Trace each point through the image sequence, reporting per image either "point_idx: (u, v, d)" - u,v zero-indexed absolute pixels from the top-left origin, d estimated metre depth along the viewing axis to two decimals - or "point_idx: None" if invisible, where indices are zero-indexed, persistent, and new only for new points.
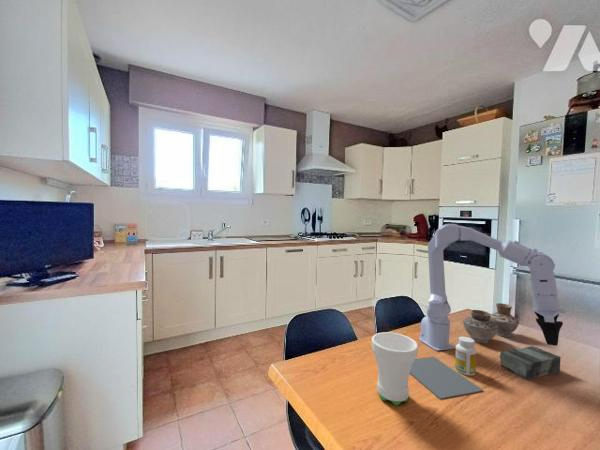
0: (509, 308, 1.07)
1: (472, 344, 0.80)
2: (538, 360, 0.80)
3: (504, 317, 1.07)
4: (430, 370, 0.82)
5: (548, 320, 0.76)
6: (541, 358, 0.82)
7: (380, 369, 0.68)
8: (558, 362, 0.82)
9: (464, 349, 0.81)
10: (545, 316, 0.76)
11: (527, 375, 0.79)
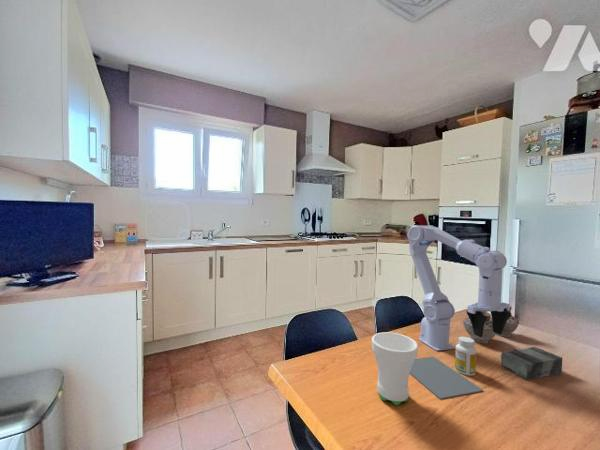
0: None
1: (472, 344, 0.80)
2: (539, 361, 0.80)
3: None
4: (430, 370, 0.82)
5: (469, 310, 0.82)
6: (542, 359, 0.81)
7: (380, 369, 0.68)
8: (560, 363, 0.82)
9: (464, 349, 0.81)
10: (468, 306, 0.83)
11: (528, 376, 0.79)
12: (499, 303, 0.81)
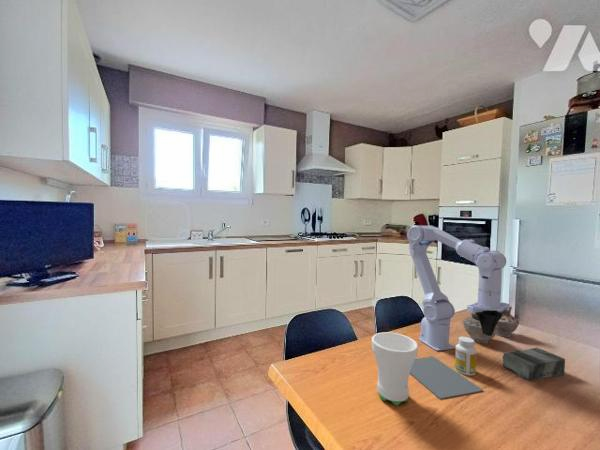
0: None
1: (472, 344, 0.80)
2: (541, 362, 0.80)
3: (504, 318, 1.07)
4: (430, 370, 0.82)
5: (469, 310, 0.82)
6: (545, 360, 0.81)
7: (380, 369, 0.68)
8: (562, 364, 0.81)
9: (464, 349, 0.81)
10: (467, 306, 0.83)
11: (530, 377, 0.78)
12: (499, 303, 0.81)
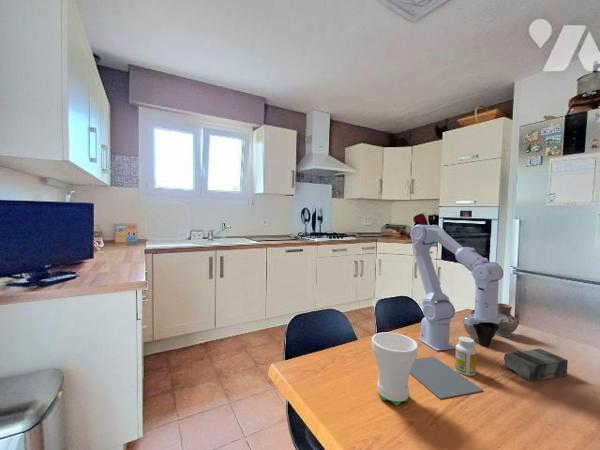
0: (509, 308, 1.07)
1: (472, 344, 0.80)
2: (542, 363, 0.79)
3: None
4: (430, 370, 0.82)
5: (465, 322, 0.82)
6: (546, 360, 0.80)
7: (380, 369, 0.68)
8: (565, 365, 0.81)
9: (464, 349, 0.81)
10: (464, 318, 0.83)
11: (531, 377, 0.78)
12: (495, 315, 0.81)
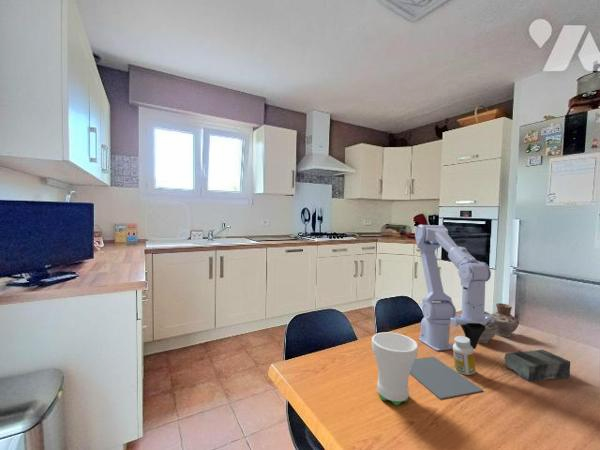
0: (509, 308, 1.07)
1: (468, 344, 0.80)
2: (543, 363, 0.79)
3: (504, 318, 1.07)
4: (430, 370, 0.82)
5: (452, 323, 0.81)
6: (548, 361, 0.80)
7: (380, 369, 0.68)
8: (567, 367, 0.80)
9: (461, 350, 0.80)
10: (451, 319, 0.81)
11: (530, 377, 0.78)
12: (482, 315, 0.80)
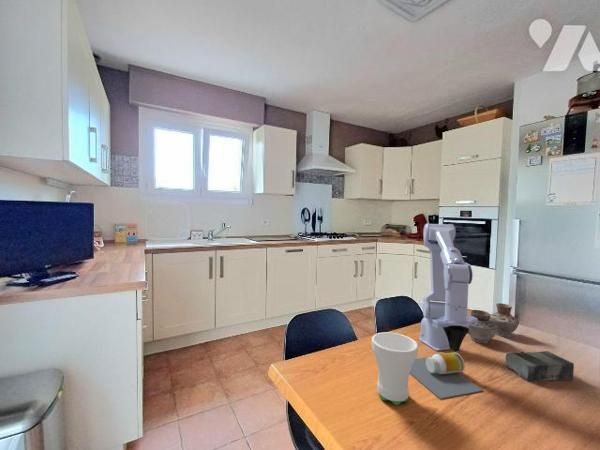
0: (509, 308, 1.07)
1: (436, 367, 0.78)
2: (544, 364, 0.79)
3: (504, 318, 1.07)
4: None
5: (434, 325, 0.79)
6: (549, 362, 0.79)
7: (380, 369, 0.68)
8: (571, 369, 0.79)
9: (439, 372, 0.79)
10: (433, 321, 0.80)
11: (530, 377, 0.78)
12: (465, 318, 0.78)
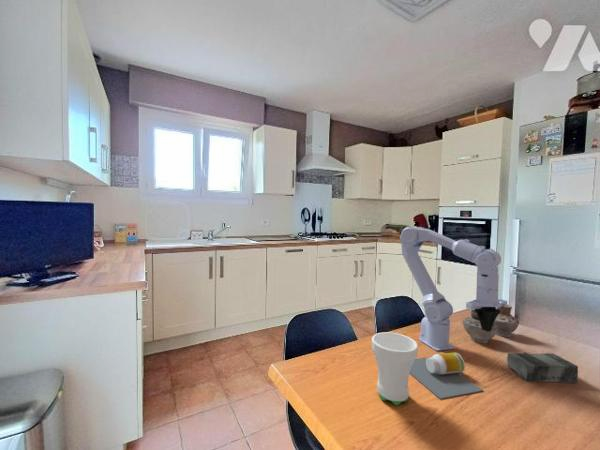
0: (509, 308, 1.07)
1: (436, 367, 0.78)
2: (544, 365, 0.78)
3: (504, 318, 1.07)
4: None
5: (468, 307, 0.86)
6: (551, 364, 0.79)
7: (380, 369, 0.68)
8: (574, 371, 0.77)
9: (439, 373, 0.79)
10: (466, 303, 0.86)
11: (528, 377, 0.78)
12: (496, 299, 0.85)
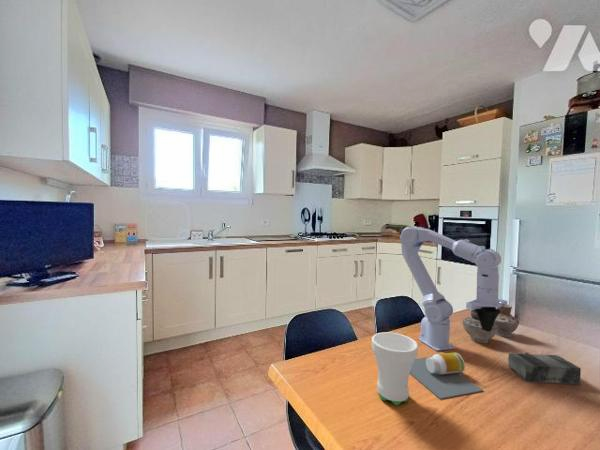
0: (509, 308, 1.07)
1: (436, 367, 0.78)
2: (545, 365, 0.78)
3: (504, 317, 1.07)
4: None
5: (468, 307, 0.86)
6: (552, 365, 0.78)
7: (380, 369, 0.68)
8: (577, 373, 0.77)
9: (439, 373, 0.79)
10: (467, 303, 0.86)
11: (528, 377, 0.78)
12: (496, 299, 0.85)
